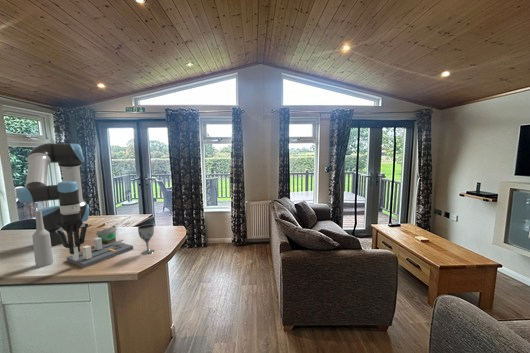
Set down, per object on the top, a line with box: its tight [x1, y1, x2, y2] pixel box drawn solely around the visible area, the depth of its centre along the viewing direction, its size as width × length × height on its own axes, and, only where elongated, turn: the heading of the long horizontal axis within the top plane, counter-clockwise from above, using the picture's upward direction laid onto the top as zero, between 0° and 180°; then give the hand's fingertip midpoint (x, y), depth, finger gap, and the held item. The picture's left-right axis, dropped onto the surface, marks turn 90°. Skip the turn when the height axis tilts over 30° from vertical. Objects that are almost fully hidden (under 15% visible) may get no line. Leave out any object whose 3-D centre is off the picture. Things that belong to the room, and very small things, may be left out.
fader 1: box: [81, 244, 92, 259], centre depth 119 cm, size 4×2×6 cm, turn 61°
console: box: [66, 239, 134, 269], centre depth 129 cm, size 18×25×4 cm
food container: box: [96, 225, 118, 246], centre depth 145 cm, size 12×6×10 cm, turn 168°
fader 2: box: [93, 236, 103, 250], centre depth 131 cm, size 4×2×6 cm, turn 61°
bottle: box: [31, 210, 54, 268], centre depth 118 cm, size 7×7×28 cm
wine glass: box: [137, 223, 156, 256], centre depth 130 cm, size 8×8×15 cm
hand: (75, 259), depth 115 cm, fingers closed
